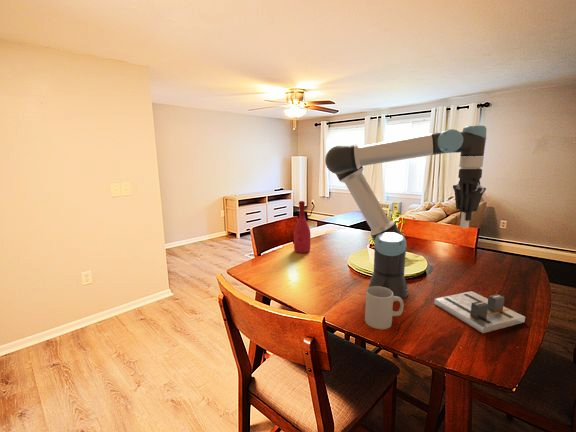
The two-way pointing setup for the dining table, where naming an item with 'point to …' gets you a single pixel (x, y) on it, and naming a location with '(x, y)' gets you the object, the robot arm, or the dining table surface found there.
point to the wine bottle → (302, 232)
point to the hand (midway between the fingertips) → (464, 228)
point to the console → (478, 312)
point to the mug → (381, 307)
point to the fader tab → (495, 302)
